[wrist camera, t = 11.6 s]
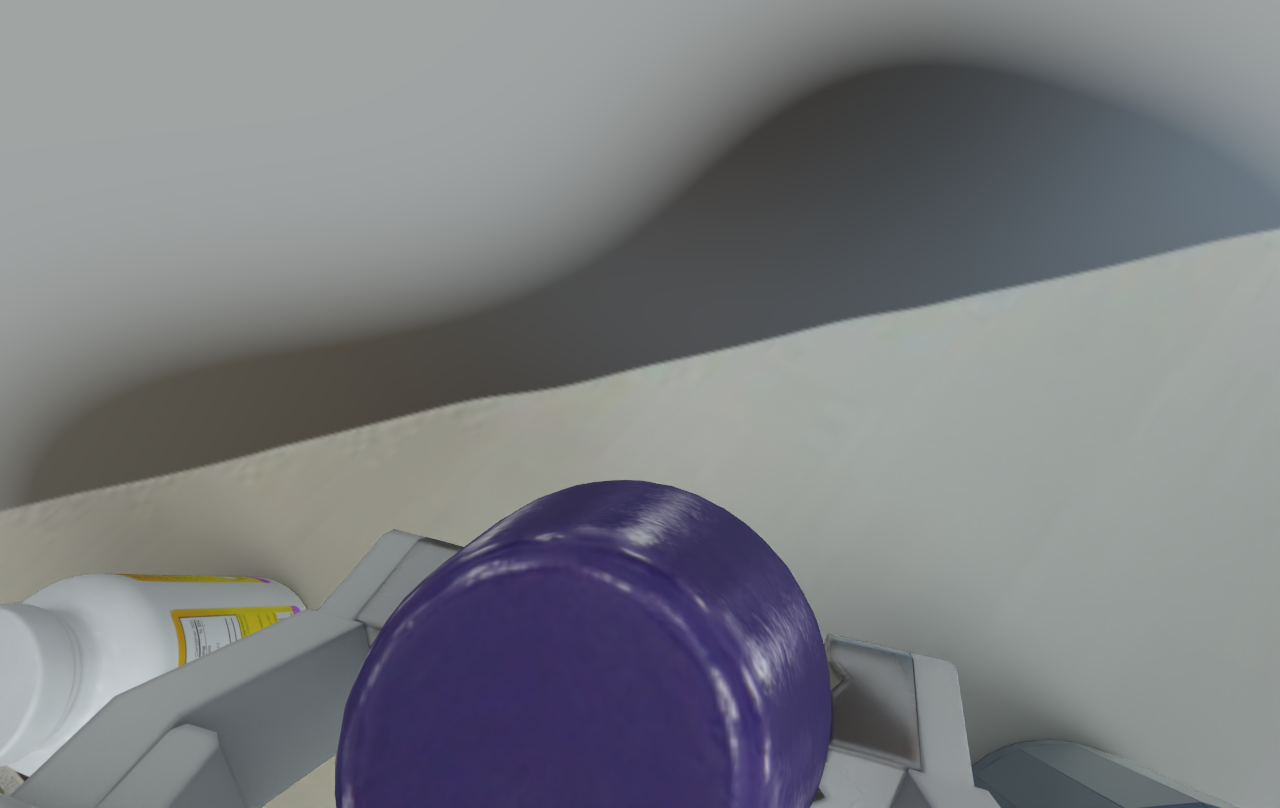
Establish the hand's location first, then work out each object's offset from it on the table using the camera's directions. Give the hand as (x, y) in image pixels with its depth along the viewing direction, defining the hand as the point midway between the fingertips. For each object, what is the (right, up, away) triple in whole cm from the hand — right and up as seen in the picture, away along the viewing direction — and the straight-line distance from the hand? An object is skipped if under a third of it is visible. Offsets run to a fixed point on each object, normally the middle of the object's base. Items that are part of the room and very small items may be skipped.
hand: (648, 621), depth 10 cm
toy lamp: (+1, -4, +11) cm, 12 cm away
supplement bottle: (-18, -9, +23) cm, 31 cm away
